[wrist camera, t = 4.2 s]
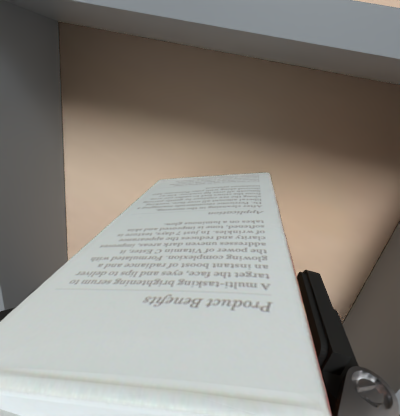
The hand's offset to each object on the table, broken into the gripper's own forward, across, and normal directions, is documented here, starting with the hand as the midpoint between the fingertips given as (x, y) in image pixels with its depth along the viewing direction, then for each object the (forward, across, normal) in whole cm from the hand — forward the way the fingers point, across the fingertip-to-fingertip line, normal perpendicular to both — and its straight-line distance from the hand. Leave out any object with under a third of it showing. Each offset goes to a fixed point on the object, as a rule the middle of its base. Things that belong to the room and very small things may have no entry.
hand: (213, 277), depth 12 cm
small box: (+3, 0, 0) cm, 3 cm away
